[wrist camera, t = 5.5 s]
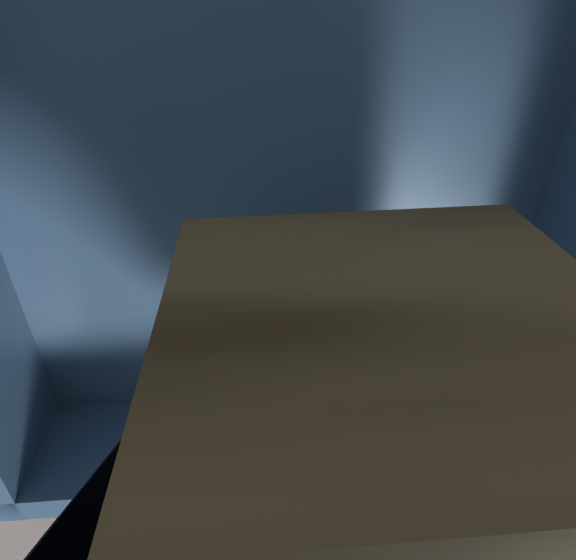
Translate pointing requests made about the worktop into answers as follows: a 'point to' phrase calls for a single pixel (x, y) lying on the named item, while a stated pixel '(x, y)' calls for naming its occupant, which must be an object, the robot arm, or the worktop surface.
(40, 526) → the worktop surface
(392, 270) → the cube
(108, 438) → the tote
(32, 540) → the worktop surface
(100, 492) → the robot arm
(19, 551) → the worktop surface
